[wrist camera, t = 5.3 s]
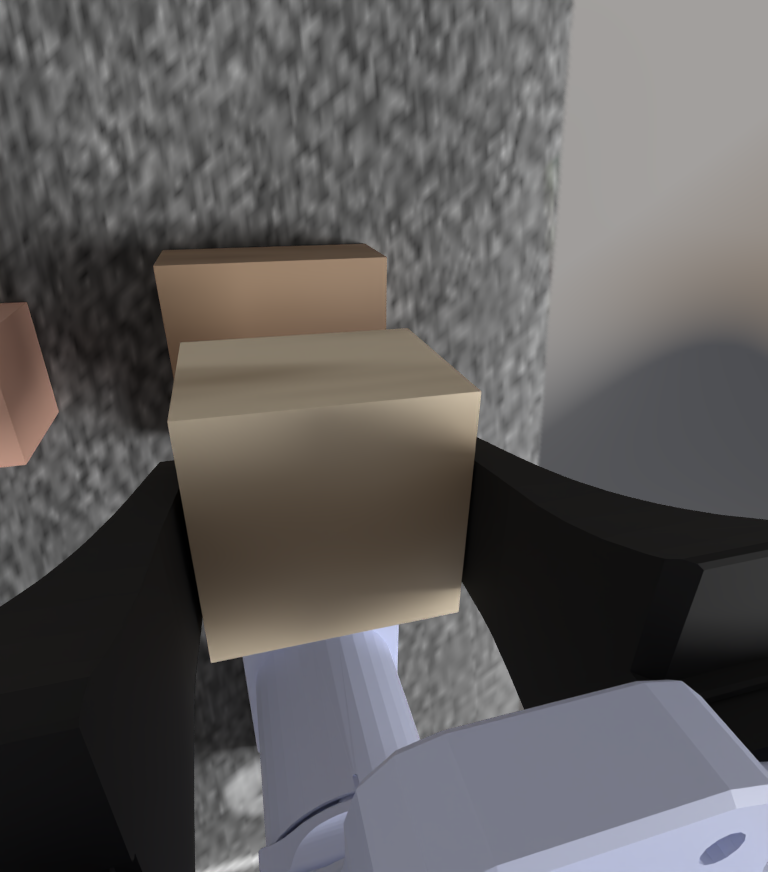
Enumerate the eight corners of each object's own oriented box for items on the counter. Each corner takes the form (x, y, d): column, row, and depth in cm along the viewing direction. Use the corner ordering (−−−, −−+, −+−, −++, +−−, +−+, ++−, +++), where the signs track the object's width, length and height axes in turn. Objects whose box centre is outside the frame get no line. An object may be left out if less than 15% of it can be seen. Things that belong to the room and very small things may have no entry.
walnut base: (366, 416, 23) (385, 449, 21) (194, 434, 21) (190, 473, 19) (365, 243, 20) (386, 257, 17) (162, 250, 18) (153, 266, 16)
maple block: (400, 507, 15) (458, 612, 11) (210, 536, 14) (211, 663, 10) (407, 328, 13) (481, 391, 9) (180, 342, 11) (167, 421, 8)
